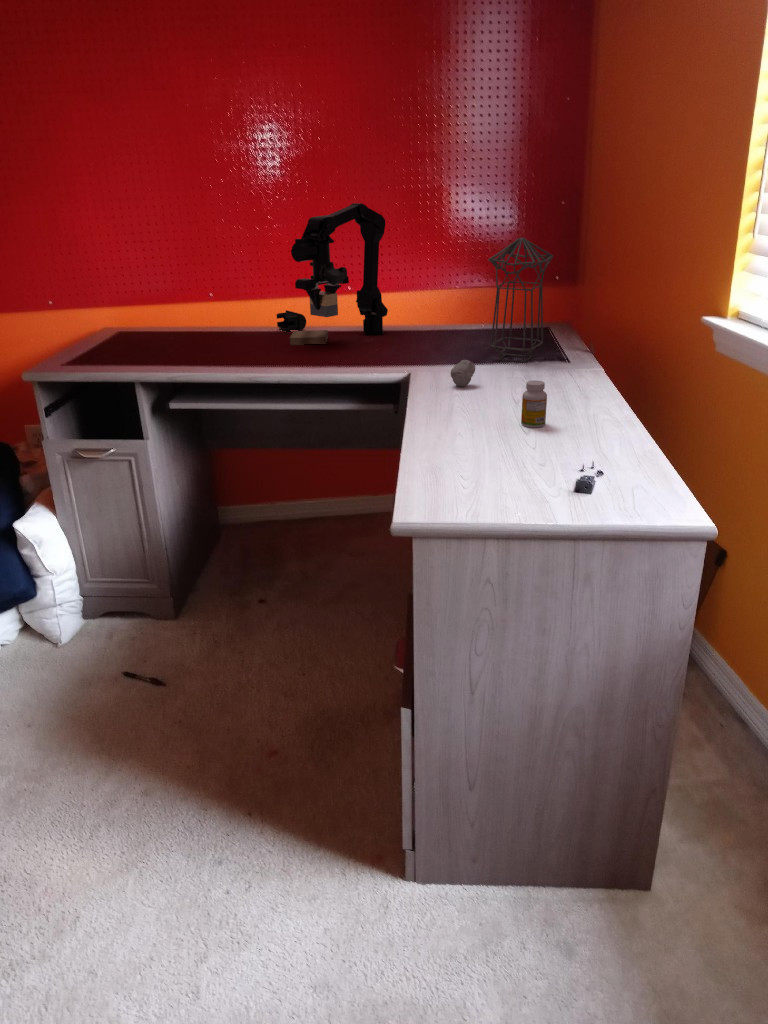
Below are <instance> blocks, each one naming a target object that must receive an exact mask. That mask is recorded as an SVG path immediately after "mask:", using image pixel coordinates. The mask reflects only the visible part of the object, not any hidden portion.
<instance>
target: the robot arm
mask: <svg viewBox="0 0 768 1024" xmlns="http://www.w3.org/2000/svg"><path fill="white" fill-rule="evenodd" d="M353 220H354V222H355V223H356V224H357V225H359V227H360V228H359V229H360V235H361V237H362V238H363V241H364V246H363V247H364V250H363V251H364V252H363V274H362V275H363V278H362V279H363V280H362V287H361V288H360V290H359V289H358V290H356V300H355V303H356V305H357V308H358V311H359V314H360V316H364V319H363V320H362V324H363V333H364V335H370V336H371V335H384V326H383V324H384V322H383V318H385V317H386V316H388V312H389V310H388V307H386V306H385V304H384V303H383V301H382V293H381V291H380V289H379V286H378V283H379V282H378V278H379V253H380V241H381V240H382V238H383V237H384V235H385V230H386V218H384V216H383V214H380V213H378V212H377V211H375V210H373V209H371V208H369V207H368V206H367V205H365V204H364V203H362V202H361V203H359V202H358V203H357V202H354V203H351V204H350V205H348V206H346V207H343V208H341V209H339V210H337V211H335V212H332V213H329V214H327V215H325V214H324V215H317V216H312V217H309V218H308V219H307V224H306V226H305V229H304V231H303V234H302V236H301V238H295V239H294V242H295V243H294V244H293V245H292V247H291V250H290V253H291V257H292V258H293V260H294V261H295V262H297V263H301V262H307V261H310V262H309V266H310V267H312V275H310V278H307V277H305V278H297V279H296V280H295V282H294V285H295V286H294V287H295V289H296V290H297V289H299V290H303V291H305V292H306V293H307V295H308V297H309V299H310V298H311V300H312V302H313V304H314V306H315V308H316V310H319V293H320V291H322V288H319V285H320V286H323V287H324V292H331V293H337V291H338V290H339V289H340V288H341V287H343V285H346V284H349V282H350V280H349V276H348V271H347V268H346V267H345V266H341V267H339V268H338V267H337V268H335V266H334V261H331V252H330V251H331V248H330V244H334V242H335V240H334V239H333V238H332V237H331V235H332V234H333V233H334V232H335V231H336V229H337V228H338V227H340V226H342V225H345V224H347V223H348V222H351V221H353ZM311 261H312V262H311Z"/></svg>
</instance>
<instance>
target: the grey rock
mask: <svg viewBox="0 0 768 1024" xmlns="http://www.w3.org/2000/svg"><path fill="white" fill-rule="evenodd" d="M475 372H476V365H475V363H474V362H472V361H470V360H468V359H462V360H460V361H459V362H458V363H456V364H455V365H454V366H453V367H452V368H451V370H450V377H451V379H452V382H453V383H454V385H455V386H457V387H462V388H463V387H464V388H465V387H466V386H468V385H469V384H470V382H471V381H472V377H474V374H475Z"/></svg>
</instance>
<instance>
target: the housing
mask: <svg viewBox="0 0 768 1024" xmlns="http://www.w3.org/2000/svg"><path fill="white" fill-rule="evenodd" d="M338 304H339V303H338V293H337V292H336V293H331V292H325V290H323V291H322V290H321V291H320V293H319V310H316V308H315V306H314V304H313V302H312V300H311V298H310V297H309V310H310V311H309V312H310V316H317V317H322V318H329V317H336V316H339V306H338Z"/></svg>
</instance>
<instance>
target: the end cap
mask: <svg viewBox="0 0 768 1024" xmlns="http://www.w3.org/2000/svg"><path fill="white" fill-rule="evenodd" d="M276 319H277V320H278V319H283V321H282V320H281V321H277V322H276V325H277V328H278V329H279V330H282V331H286V332H291V331H290V330H298V331H301V330H302V331H304V329H305V328H306V326H307V319H306V317H305V315H303V314H302V313H299V312H294V311H291V310H285V312H279V313H276Z"/></svg>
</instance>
